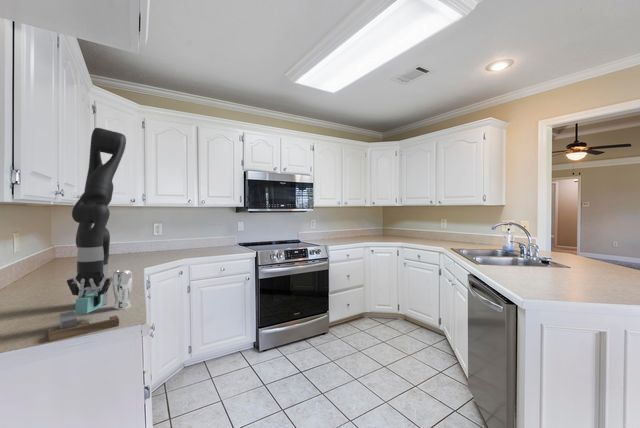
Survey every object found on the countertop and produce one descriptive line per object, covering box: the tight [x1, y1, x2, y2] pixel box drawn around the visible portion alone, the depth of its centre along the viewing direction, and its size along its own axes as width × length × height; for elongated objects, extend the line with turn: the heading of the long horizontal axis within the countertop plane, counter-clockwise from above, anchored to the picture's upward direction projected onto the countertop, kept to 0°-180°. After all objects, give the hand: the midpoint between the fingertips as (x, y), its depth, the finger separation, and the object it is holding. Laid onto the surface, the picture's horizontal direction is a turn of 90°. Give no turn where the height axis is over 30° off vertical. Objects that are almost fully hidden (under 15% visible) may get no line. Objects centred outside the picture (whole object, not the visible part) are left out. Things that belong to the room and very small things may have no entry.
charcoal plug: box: [59, 310, 78, 330], centre depth 97 cm, size 12×4×5 cm, turn 45°
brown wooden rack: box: [47, 314, 120, 343], centre depth 96 cm, size 5×18×2 cm, turn 135°
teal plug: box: [74, 293, 103, 315], centre depth 104 cm, size 12×4×5 cm, turn 13°
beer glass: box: [112, 269, 134, 311], centre depth 120 cm, size 7×7×15 cm
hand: (89, 305), depth 103 cm, fingers closed on teal plug, 3 cm apart
